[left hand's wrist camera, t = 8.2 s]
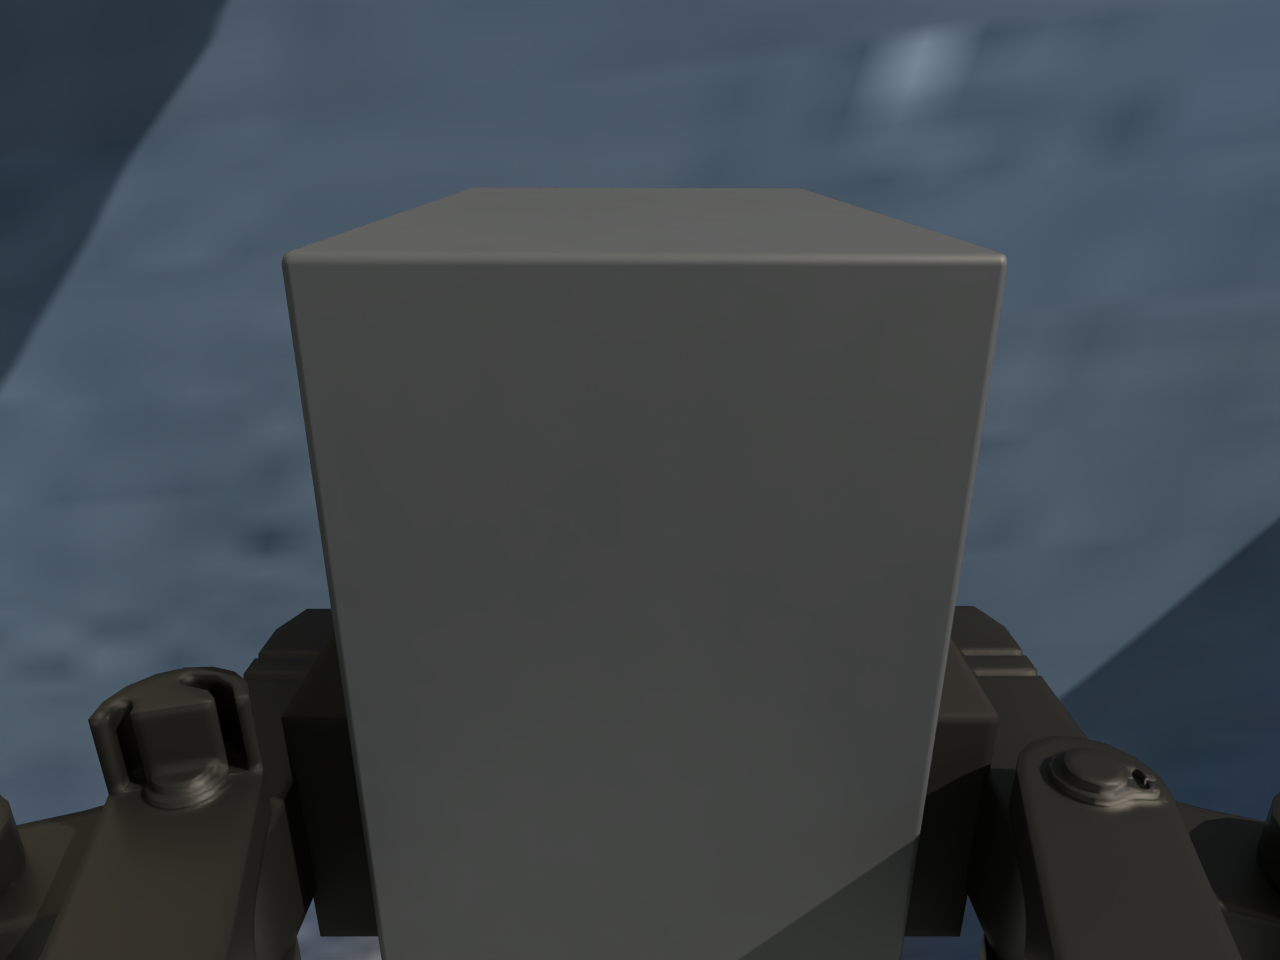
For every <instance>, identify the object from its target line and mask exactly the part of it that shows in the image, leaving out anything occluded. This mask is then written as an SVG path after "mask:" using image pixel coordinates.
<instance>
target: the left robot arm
mask: <svg viewBox="0 0 1280 960" xmlns="http://www.w3.org/2000/svg"><path fill="white" fill-rule="evenodd" d="M88 721H89V725H90V728H91V732H92V736H93V739H94V743H95V746H96V750H97V754H98V757H99V761H100V764H101V768H102V772H103V775H104V779H105V782H106V786H107V789H108V793H109V796H108V798H107V800H106V803H105V805H103V806H99V807H96V808H92V809H89V810H85V811H81V812H76V813H72V814H67V815H62V816H58V817H53V818H48V819H44V820H39V821H34V822H30V823H25V824H20V825H16V823H15V820H14V817H13V814H12V811H11V808H10V805H9V802H8V801H7V800H6V799H4V798H3V797H2V796H1V795H0V960H301V956H300V950H299V945H298V940H297V934H298V932H299V929H300V927H301V925H302V922H303V920H304V918H305V915H306V913H307V911H308V908H309V906H310V904H311V901H312V899H313V897H314V902H315V908H316V914H317V919H318V925H319V930H320V936H378V930H377V923H376V916H375V909H374V902H373V896H372V889H371V882H370V875H369V868H368V861H367V854H366V847H365V840H364V833H363V826H362V819H361V812H360V805H359V798H358V791H357V784H356V777H355V770H354V763H353V756H352V749H351V742H350V736H349V729H348V722H347V715H346V708H345V701H344V694H343V687H342V680H341V673H340V666H339V659H338V652H337V645H336V638H335V631H334V624H333V617H332V610H331V609H306V610H305V611H303V612H302V613H300V614H299V615H297V616H296V617H294V618H293V619H291V620H290V621H288V622H287V623H285V624H284V625H282V626H281V627H279V628H278V629H276V631H275V632H274V633H273V635H272V636H271V637H270V639H269V640H268V641H267V643H266V644H265V646H264V647H263V648H262V650H261V651H260V652H259V657H258V658H255V659H254V661H253V662H252V663H251V665H250V666H249V667H248V669H247V670H246V671H245V673H244V678H242V677H241V676H239V675H238V674H237V673H236V672H234V671H230V670H225V669H221V668H217V667H190V668H182V669H177V670H173V671H169V672H164V673H160V674H155V675H153V676H151V677H148V678H146V679H143V680H141V681H138V682H136V683H133V684H131V685H129V686H126V687H125V688H123V689H122V690H120V691H119V692H117V693H116V694H114V695H113V696H111V697H110V698H108V699H107V700H105V701H104V702H102V704H101V705H100V706H99V707H98V708H97V710H96V711H95V712H94V713H93V714H92V716H91V717H90V718H89V719H88ZM967 894H968V896H969V898H970V900H971V903H972V905H973V907H974V910H975V912H976V914H977V917H978V919H979V921H980V924H981V926H982V928H983V931H984V935H983V940H982V945H981V950H980V955H979V960H1280V793H1279V794H1278V795H1277V796H1275V797H1274V798H1273V801H1272V804H1271V807H1270V810H1269V813H1268V816H1267V819H1266V822H1264V821H1259V820H1254V819H1250V818H1245V817H1240V816H1236V815H1231V814H1226V813H1222V812H1217V811H1212V810H1208V809H1203V808H1198V807H1194V806H1191V805H1187V804H1184V803H1180V802H1177V801H1174V799H1173V796H1172V794H1171V793H1170V791H1169V790H1168V788H1167V787H1166V786H1165V784H1164V783H1163V781H1162V780H1161V779H1160V777H1159V776H1158V774H1156V773H1155V772H1154V771H1152V770H1151V769H1150V768H1148V767H1147V766H1146V765H1144V764H1143V763H1142V762H1141V761H1139V760H1138V759H1137V758H1135V757H1133V756H1131V755H1129V754H1127V753H1125V752H1123V751H1120V750H1118V749H1116V748H1114V747H1112V746H1110V745H1108V744H1104V743H1100V742H1096V741H1092V740H1088V739H1087V738H1086V736H1085V735H1084V733H1083V732H1082V731H1081V729H1080V728H1079V727H1078V725H1077V724H1076V723H1075V721H1074V720H1073V719H1072V717H1071V716H1070V715H1069V713H1068V712H1067V710H1066V709H1065V708H1064V706H1063V705H1062V704H1061V702H1060V701H1059V700H1058V698H1057V697H1056V696H1055V694H1054V693H1053V691H1052V690H1051V689H1050V687H1049V686H1048V685H1047V683H1046V682H1045V681H1044V679H1043V678H1042V677H1041V676H1038V675H1037V670H1036V668H1035V667H1034V666H1033V664H1032V663H1031V662H1030V660H1029V659H1028V658H1027V656H1023V654H1022V649H1021V648H1020V647H1019V645H1018V644H1017V643H1016V641H1015V640H1014V639H1013V637H1012V636H1011V635H1010V633H1009V632H1008V631H1007V629H1006V628H1005V627H1004V626H1003V625H1001V624H1000V623H998V622H997V621H995V620H994V619H992V618H991V617H989V616H988V615H986V614H985V613H983V612H982V611H980V610H979V609H977V608H976V607H974V606H955V610H954V617H953V623H952V629H951V636H950V642H949V649H948V655H947V662H946V668H945V675H944V681H943V688H942V694H941V701H940V707H939V714H938V720H937V727H936V733H935V740H934V746H933V753H932V759H931V766H930V772H929V779H928V785H927V792H926V798H925V805H924V811H923V818H922V824H921V831H920V837H919V844H918V850H917V857H916V863H915V870H914V876H913V883H912V889H911V896H910V902H909V909H908V915H907V921H906V928H905V934H904V936H960V933H961V928H962V922H963V917H964V911H965V905H966V900H967Z"/></svg>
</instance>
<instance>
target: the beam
mask: <svg viewBox="0 0 1280 960" xmlns="http://www.w3.org/2000/svg"><path fill="white" fill-rule="evenodd" d="M1007 266H1008V264H1007V259H1006V256H1005V255H1003V254H1001V253H999V252H996V251H993V250H990V249H987V248H984V247H981V246H978V245H974V244H971V243H968V242H965V241H962V240H959V239H956V238H953V237H950V236H947V235H943V234H940V233H937V232H934V231H931V230H928V229H925V228H922V227H919V226H916V225H913V224H909V223H906V222H903V221H900V220H897V219H894V218H891V217H888V216H885V215H882V214H878V213H875V212H872V211H869V210H866V209H863V208H860V207H857V206H854V205H851V204H847V203H844V202H841V201H838V200H835V199H832V198H829V197H826V196H823V195H820V194H816V193H813V192H810V191H807V190H804V189H801V188H471V189H468V190H465V191H462V192H459V193H456V194H453V195H451V196H448V197H445V198H442V199H439V200H436V201H433V202H430V203H428V204H425V205H422V206H419V207H416V208H413V209H410V210H407V211H405V212H402V213H399V214H396V215H393V216H390V217H387V218H384V219H381V220H379V221H376V222H373V223H370V224H367V225H364V226H361V227H358V228H356V229H353V230H350V231H347V232H344V233H341V234H338V235H335V236H332V237H330V238H327V239H324V240H321V241H318V242H315V243H312V244H309V245H307V246H304V247H301V248H298V249H295V250H292V251H290V252H288V253H286V254H284V256H283V260H282V269H283V276H284V283H285V290H286V297H287V304H288V311H289V318H290V325H291V332H292V339H293V346H294V353H295V360H296V367H297V374H298V381H299V388H300V395H301V402H302V409H303V415H304V422H305V429H306V436H307V443H308V450H309V457H310V464H311V471H312V478H313V485H314V492H315V499H316V506H317V513H318V520H319V527H320V534H321V541H322V548H323V555H324V562H325V569H326V575H327V582H328V589H329V596H330V603H331V610H332V617H333V624H334V631H335V638H336V645H337V652H338V659H339V666H340V673H341V680H342V687H343V694H344V701H345V708H346V715H347V722H348V729H349V736H350V742H351V749H352V756H353V763H354V770H355V777H356V784H357V791H358V798H359V805H360V812H361V819H362V826H363V833H364V840H365V847H366V854H367V861H368V868H369V875H370V882H371V889H372V896H373V902H374V909H375V916H376V923H377V930H378V937H379V944H380V951H381V958H382V960H901V954H902V947H903V941H904V934H905V928H906V921H907V915H908V909H909V902H910V896H911V889H912V883H913V876H914V870H915V863H916V857H917V850H918V844H919V837H920V831H921V824H922V818H923V811H924V805H925V798H926V792H927V785H928V779H929V772H930V766H931V759H932V753H933V746H934V740H935V733H936V727H937V720H938V714H939V707H940V701H941V694H942V688H943V681H944V675H945V668H946V662H947V655H948V649H949V642H950V636H951V629H952V623H953V617H954V610H955V604H956V597H957V591H958V584H959V578H960V571H961V565H962V558H963V552H964V545H965V539H966V532H967V526H968V519H969V513H970V506H971V500H972V493H973V487H974V480H975V474H976V467H977V461H978V454H979V448H980V441H981V435H982V428H983V422H984V415H985V409H986V402H987V396H988V389H989V383H990V376H991V370H992V363H993V357H994V350H995V344H996V337H997V331H998V325H999V318H1000V312H1001V305H1002V299H1003V292H1004V286H1005V279H1006V273H1007Z"/></svg>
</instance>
